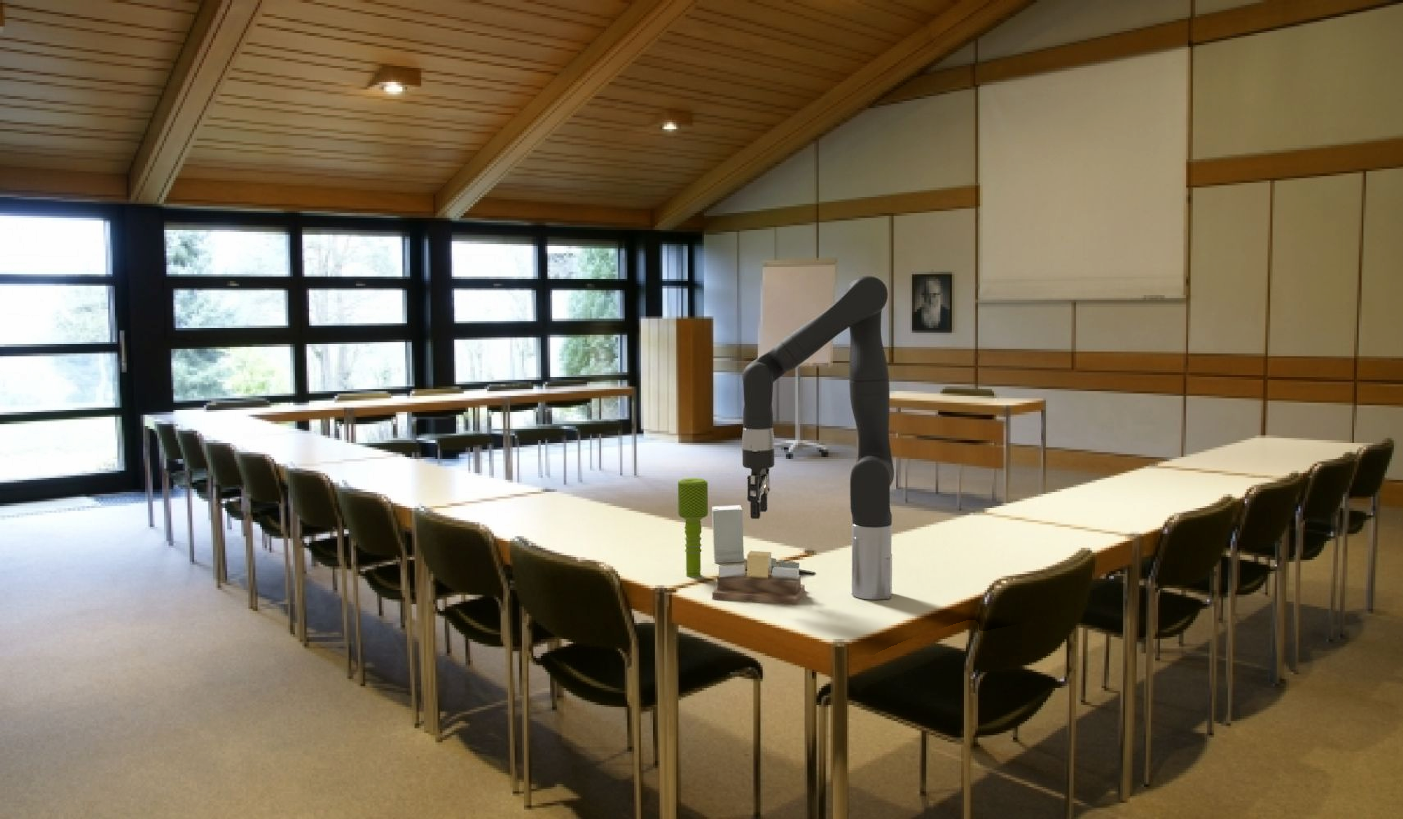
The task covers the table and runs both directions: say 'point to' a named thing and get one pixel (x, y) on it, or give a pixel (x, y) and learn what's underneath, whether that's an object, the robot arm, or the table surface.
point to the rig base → (758, 596)
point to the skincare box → (728, 534)
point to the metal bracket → (786, 565)
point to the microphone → (693, 519)
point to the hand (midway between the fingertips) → (759, 514)
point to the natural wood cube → (759, 564)
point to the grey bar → (776, 572)
